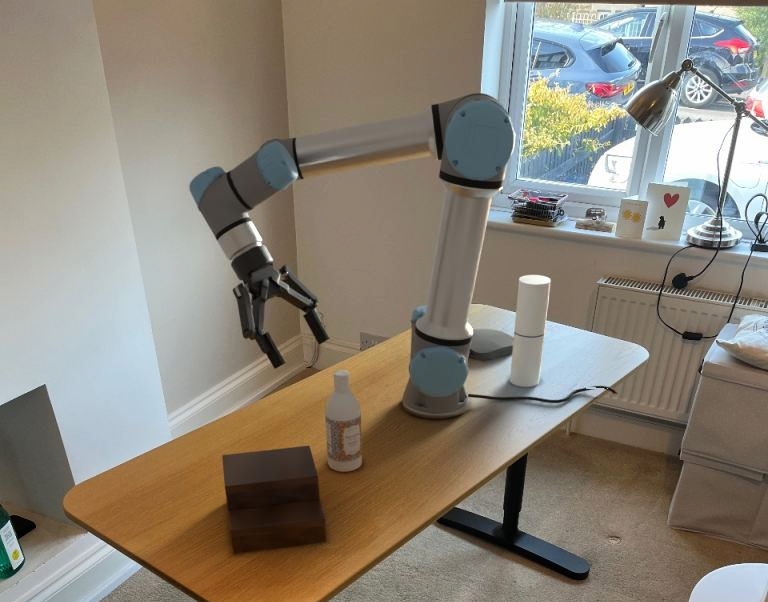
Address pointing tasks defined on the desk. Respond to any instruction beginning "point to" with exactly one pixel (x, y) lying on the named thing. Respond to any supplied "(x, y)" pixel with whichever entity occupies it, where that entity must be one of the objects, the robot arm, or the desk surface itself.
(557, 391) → the desk surface
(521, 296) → the cylindrical container
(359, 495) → the desk surface
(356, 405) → the bath foam
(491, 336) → the media streaming box
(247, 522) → the stepped brown block
